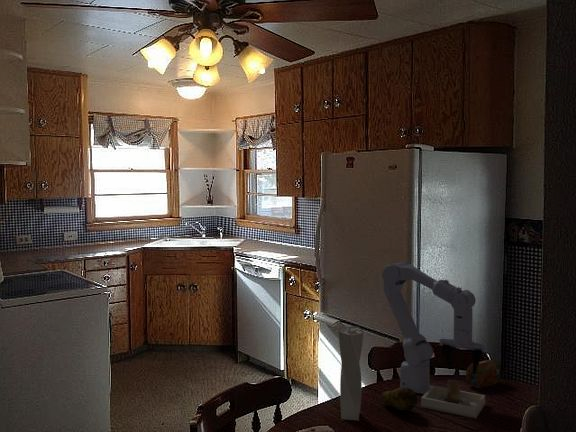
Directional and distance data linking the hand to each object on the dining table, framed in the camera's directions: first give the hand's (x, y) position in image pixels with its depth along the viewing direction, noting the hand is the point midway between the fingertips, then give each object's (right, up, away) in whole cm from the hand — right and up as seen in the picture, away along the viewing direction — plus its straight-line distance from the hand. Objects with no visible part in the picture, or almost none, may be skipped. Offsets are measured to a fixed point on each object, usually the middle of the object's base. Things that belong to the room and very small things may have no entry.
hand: (462, 370), depth 172 cm
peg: (-4, -9, -4) cm, 11 cm away
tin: (+12, -10, +15) cm, 22 cm away
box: (-4, -10, -4) cm, 11 cm away
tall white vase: (-38, -11, -12) cm, 41 cm away
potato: (-22, -10, -7) cm, 25 cm away
